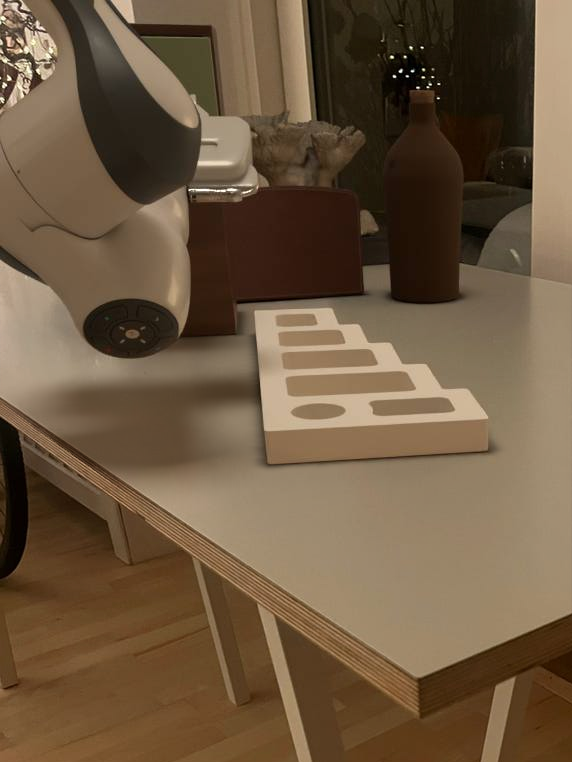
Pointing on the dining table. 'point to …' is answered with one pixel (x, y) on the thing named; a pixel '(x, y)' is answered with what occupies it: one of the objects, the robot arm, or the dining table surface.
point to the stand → (205, 223)
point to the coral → (311, 163)
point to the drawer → (189, 66)
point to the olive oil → (423, 208)
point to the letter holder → (296, 243)
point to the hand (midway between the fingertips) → (134, 101)
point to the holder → (353, 395)
